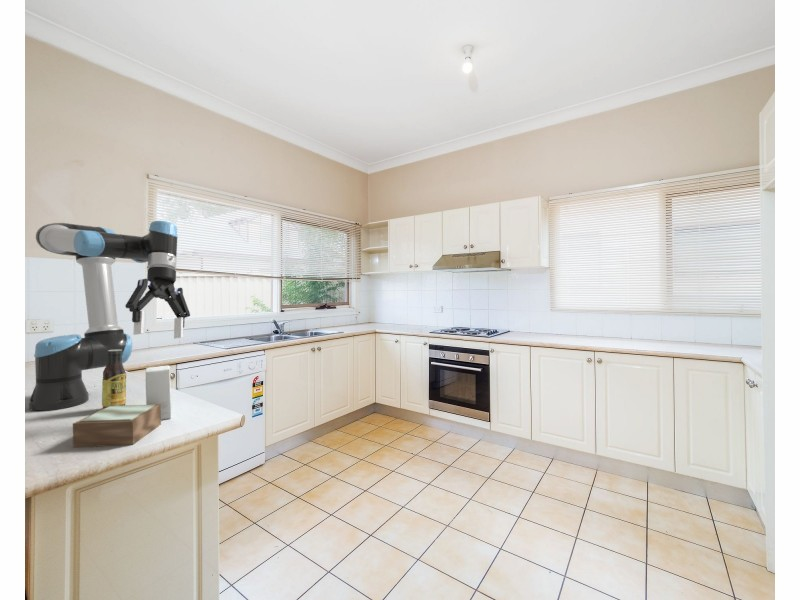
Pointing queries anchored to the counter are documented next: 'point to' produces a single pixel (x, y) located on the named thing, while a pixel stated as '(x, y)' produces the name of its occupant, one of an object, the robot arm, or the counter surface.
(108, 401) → the sauce bottle
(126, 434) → the riser
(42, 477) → the counter surface
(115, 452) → the counter surface
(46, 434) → the counter surface
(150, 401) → the skincare box
